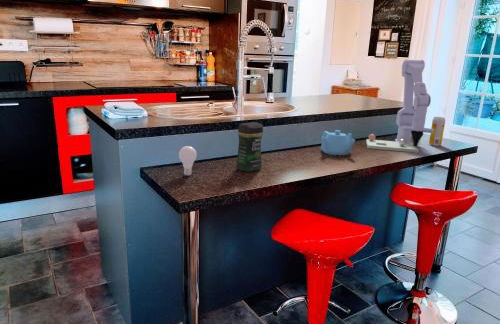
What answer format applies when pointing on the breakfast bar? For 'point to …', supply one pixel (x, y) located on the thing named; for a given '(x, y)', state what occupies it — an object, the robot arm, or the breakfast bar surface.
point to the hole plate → (391, 146)
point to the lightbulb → (187, 158)
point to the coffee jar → (249, 146)
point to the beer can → (437, 131)
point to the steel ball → (402, 142)
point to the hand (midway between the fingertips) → (415, 145)
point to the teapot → (336, 143)
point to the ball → (371, 137)
